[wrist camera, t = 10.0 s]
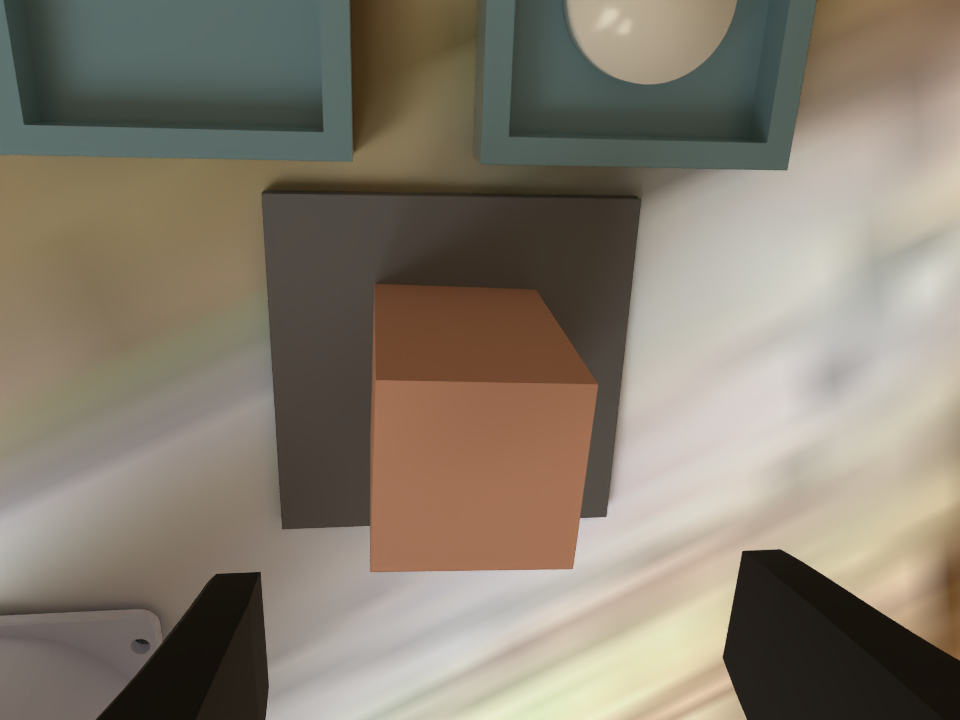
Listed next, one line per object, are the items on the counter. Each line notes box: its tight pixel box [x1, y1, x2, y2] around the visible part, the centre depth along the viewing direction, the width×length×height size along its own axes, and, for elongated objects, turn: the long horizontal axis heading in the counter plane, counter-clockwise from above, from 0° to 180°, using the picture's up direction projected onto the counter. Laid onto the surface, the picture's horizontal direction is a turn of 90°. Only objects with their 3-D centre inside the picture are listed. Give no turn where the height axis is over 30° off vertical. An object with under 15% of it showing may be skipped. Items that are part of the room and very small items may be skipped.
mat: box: [262, 191, 641, 529], centre depth 21 cm, size 9×9×1 cm
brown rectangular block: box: [370, 284, 598, 572], centre depth 18 cm, size 4×4×6 cm
